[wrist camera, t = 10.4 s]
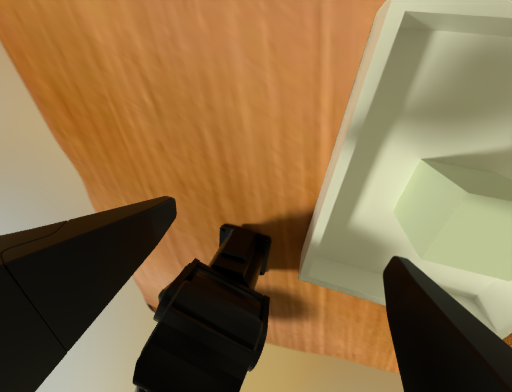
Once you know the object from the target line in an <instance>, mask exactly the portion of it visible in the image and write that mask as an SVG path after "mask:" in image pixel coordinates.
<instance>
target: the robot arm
mask: <svg viewBox="0 0 512 392" xmlns="http://www.w3.org/2000/svg"><path fill="white" fill-rule="evenodd" d="M176 215H177V212H176V201H175V199H174V198H172V197H168V196H163V197H159V198H155V199H151V200H147V201H143V202H139V203H135V204H131V205H127V206H123V207H119V208H115V209H111V210H107V211H103V212H99V213H95V214H91V215H87V216H83V217H79V218H75V219H71V220H69V221H63V222H58V223H54V224H50V225H47V226H42V227H38V228H34V229H29V230H24V231H20V232H15V233H11V234H6V235H1V236H0V392H35V391H36V390H37V389H38V387H39V386H40V385H41V384H42V383H43V381H44V380H45V379H46V378H47V377H48V375H49V374H50V373H51V372H52V371H53V370H54V368H55V367H56V366H57V365H58V364H59V362H60V361H61V360H62V359H63V358H64V356H65V355H66V354H67V352H68V351H69V350H70V349H71V348H72V346H73V345H74V344H75V343H76V342H77V341H78V339H79V338H80V337H81V336H82V335H83V333H84V332H85V331H86V330H87V328H88V327H89V326H90V325H91V324H92V323H93V321H94V320H95V319H96V318H97V317H98V315H99V314H100V313H101V312H102V311H103V309H104V308H105V307H106V306H107V305H108V303H109V302H110V301H111V300H112V299H113V298H114V296H115V295H116V294H117V293H118V292H119V290H120V289H121V288H122V286H123V285H124V284H125V283H126V282H127V281H128V280H129V278H130V277H131V276H132V275H133V274H134V272H135V271H136V270H137V269H138V268H139V266H140V265H141V264H142V263H143V262H144V260H145V259H146V258H147V257H148V256H149V255H150V253H151V252H152V251H153V250H154V248H155V247H156V246H157V245H158V243H159V242H160V240H161V239H162V237H163V236H164V234H165V233H166V232H167V230H168V229H169V227H170V226H171V224H172V223H173V221H174V220H175V218H176ZM223 228H224V229H223ZM266 240H268V241H266ZM270 245H271V238H270V237H268V236H264V235H261V234H257V233H253V232H250V231H246V230H242V229H239V228H235V227H231V226H228V225H222V226H221V227H220V241H219V249H218V251H217V252H216V254H215V256H214V257H213V259H212V261H211V262H210V264H209V265H208V266H207V265H205V264H203V263H202V262H200V260H198V259H196V258H195V259H194V260H193V262H192V263H189V264H188V265H187V266H185V268H184V269H183V270H182V272H181V273H180V274H179V275H178V277H177V278H176V279H175V280H174V281H173V282H171V283H170V284H169V285H168V286H167V287H165V288H164V289H163V290H162V291H161V292H160V294H159V296H158V298H159V305H158V307H157V310H156V313H155V315H154V320H155V321H157V322H158V324H157V325H156V327H155V329H154V330H153V332H152V334H151V336H150V337H149V339H148V341H147V342H146V344H145V346H144V348H143V350H142V352H141V355H140V357H139V358H138V360H137V362H136V366H135V371H134V376H133V384H135V385H136V386H137V392H239V391H240V388H241V386H242V383H243V381H244V378H245V375H246V373H247V371H249V372H250V371H252V370H253V369H254V367H255V366H256V364H257V362H258V360H259V358H260V355H261V353H262V350H263V347H264V344H265V340H266V335H267V328H268V315H269V301H270V297H268V296H266V295H262V294H260V293H258V292H256V291H255V290H254V289H255V286H256V283H257V280H258V276H259V275H264V273H265V269H266V264H267V259H268V254H269V249H270ZM383 284H384V293H385V302H386V311H387V318H388V323H389V327H390V332H391V336H392V340H393V345H394V349H395V354H396V358H397V362H398V367H399V371H400V376H401V380H402V384H403V389H404V392H512V348H511V347H510V346H509V345H508V344H507V343H506V342H504V341H503V340H502V339H501V338H500V337H499V336H497V335H496V334H495V333H494V332H493V331H491V330H490V329H489V328H488V327H487V326H486V325H484V324H483V323H482V322H481V321H480V320H479V319H477V318H476V317H475V316H474V315H473V314H472V313H470V312H469V311H468V310H467V309H466V308H465V307H463V306H462V305H461V304H460V303H459V302H458V301H456V300H455V299H454V298H453V297H452V296H451V295H449V294H448V293H447V292H446V291H445V290H444V289H442V288H441V287H440V286H439V285H438V284H437V283H435V282H434V281H433V280H432V279H431V278H430V277H428V276H427V275H426V274H425V273H424V272H423V271H421V270H420V269H419V268H418V267H417V266H416V265H414V264H413V263H412V262H411V261H410V260H409V259H407V258H404V257H400V256H393V257H392V258H391V260H390V261H389V263H388V264H387V266H386V267H385V269H384V271H383Z"/></svg>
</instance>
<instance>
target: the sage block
mask: <svg viewBox="0 0 512 392" xmlns="http://www.w3.org/2000/svg"><path fill="white" fill-rule="evenodd" d="M392 212H393V213H394V215H395V217H396V218H397V220H398V222H399V224H400V225H401V227H402V229H403V230H404V232H405V234H406V235H407V237H408V239H409V240H410V242H411V244H412V246H413V247H414V249H415V251H416V252H417V254H418V256H419V257H420V259H422V260H426V261H430V262H434V263H438V264H442V265H446V266H450V267H454V268H458V269H462V270H466V271H470V272H474V273H478V274H482V275H486V276H490V277H494V278H498V279H501V280H505V281H509V282H511V281H512V180H510V179H508V178H506V177H504V176H502V175H500V174H498V173H496V172H492V171H487V170H481V169H475V168H469V167H463V166H458V165H452V164H446V163H440V162H434V161H429V160H423V159H420V161H419V163H418V165H417V166H416V168H415V170H414V172H413V174H412V176H411V178H410V180H409V181H408V183H407V185H406V187H405V189H404V191H403V193H402V195H401V196H400V198H399V200H398V202H397V204H396V206H395V208H394V209H393V211H392Z"/></svg>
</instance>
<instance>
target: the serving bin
mask: <svg viewBox="0 0 512 392" xmlns="http://www.w3.org/2000/svg"><path fill="white" fill-rule="evenodd" d="M420 159H423V160H429V161H434V162H440V163H446V164H452V165H458V166H463V167H469V168H475V169H481V170H487V171H492V172H496V173H498V174H500V175H502V176H504V177H506V178H508V179H510V180H512V0H386V1H385V3H384V4H383V5H382V6H381V8H380V9H379V10H378V11H377V13H376V15H375V18H374V21H373V25H372V28H371V31H370V34H369V37H368V41H367V44H366V47H365V50H364V53H363V56H362V60H361V63H360V66H359V69H358V72H357V76H356V79H355V82H354V85H353V88H352V92H351V95H350V98H349V101H348V104H347V108H346V111H345V114H344V117H343V120H342V123H341V127H340V130H339V133H338V136H337V139H336V143H335V146H334V149H333V152H332V155H331V159H330V162H329V165H328V168H327V171H326V174H325V178H324V181H323V184H322V187H321V190H320V194H319V197H318V200H317V203H316V206H315V210H314V213H313V216H312V219H311V222H310V225H309V229H308V232H307V235H306V238H305V241H304V245H303V248H302V251H301V257H300V267H299V276H298V280H302V281H305V282H308V283H312V284H315V285H318V286H322V287H325V288H328V289H332V290H335V291H338V292H342V293H345V294H348V295H351V296H355V297H358V298H361V299H365V300H368V301H371V302H375V303H378V304H381V305H385V306H386V302H385V293H384V284H383V271H384V269H385V267H386V266H387V264H388V263H389V261H390V260H391V258H392V257H393V256H400V257H404V258H407V259H409V260H410V261H411V262H412V263H413V264H414V265H416V266H417V267H418V268H419V269H420V270H421V271H423V272H424V273H425V274H426V275H427V276H428V277H430V278H431V279H432V280H433V281H434V282H435V283H437V284H438V285H439V286H440V287H441V288H442V289H444V290H445V291H446V292H447V293H448V294H449V295H451V296H452V297H453V298H454V299H455V300H456V301H458V302H459V303H460V304H461V305H462V306H463V307H465V308H466V309H467V310H468V311H469V312H470V313H472V314H473V315H474V316H475V317H476V318H477V319H479V320H480V321H481V322H482V323H483V324H484V325H486V326H487V327H488V328H489V329H490V330H491V331H493V332H494V333H495V334H496V335H497V336H499V337H500V338H501V339H504V338H505V337H507V336H508V335H510V334H511V333H512V281H511V282H509V281H505V280H501V279H498V278H494V277H490V276H486V275H482V274H478V273H474V272H470V271H466V270H462V269H458V268H454V267H450V266H446V265H442V264H438V263H434V262H430V261H426V260H422V259H420V257H419V256H418V254H417V252H416V251H415V249H414V247H413V246H412V244H411V242H410V240H409V239H408V237H407V235H406V234H405V232H404V230H403V229H402V227H401V225H400V224H399V222H398V220H397V218H396V217H395V215H394V213H393V212H392V211H393V209H394V208H395V206H396V204H397V202H398V200H399V198H400V196H401V195H402V193H403V191H404V189H405V187H406V185H407V183H408V181H409V180H410V178H411V176H412V174H413V172H414V170H415V168H416V166H417V165H418V163H419V161H420Z"/></svg>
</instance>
